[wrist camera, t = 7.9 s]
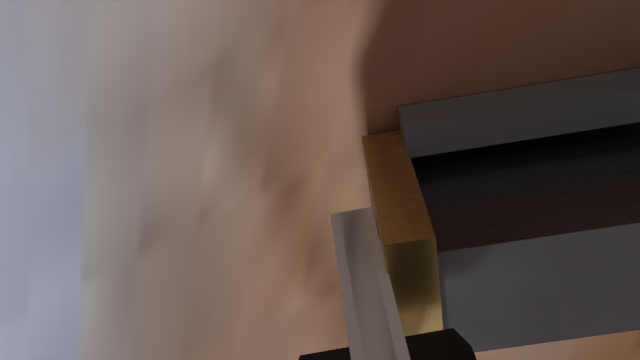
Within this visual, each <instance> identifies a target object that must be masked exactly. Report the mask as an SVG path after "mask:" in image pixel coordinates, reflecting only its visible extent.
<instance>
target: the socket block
mask: <svg viewBox="0 0 640 360" xmlns="http://www.w3.org/2000/svg"><path fill="white" fill-rule="evenodd" d="M398 112H399V122H400V130H402V133H403V136H404V139H405V142H406V146H407V149H408V152H409V155H410V158H414V157H420V156H427V155H433V154H439V153H446V152H452V151H458V150H465V149H471V148H478V147H484V146H490V145H497V144H503V143H509V142H516V141H522V140H529V139H535V138H541V137H548V136H554V135H560V134H567V133H573V132H579V131H586V130H592V129H599V128H605V127H611V126H618V125H624V124H630V123H637V122H640V68H634V69H628V70H622V71H615V72H609V73H603V74H597V75H591V76H585V77H578V78H572V79H566V80H560V81H554V82H548V83H541V84H535V85H529V86H523V87H517V88H511V89H504V90H498V91H492V92H486V93H480V94H474V95H467V96H461V97H455V98H449V99H443V100H436V101H430V102H424V103H418V104H412V105H406V106H399V107H398Z"/></svg>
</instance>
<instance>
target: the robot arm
mask: <svg viewBox="0 0 640 360" xmlns="http://www.w3.org/2000/svg"><path fill="white" fill-rule="evenodd" d="M330 216H331V223H332V230H333V237H334V244H335V251H336V258H337V265H338V272H339V279H340V286H341V293H342V300H343V307H344V314H345V321H346V328H347V335H348V342H349V347H347V348H341V349H335V350H329V351H323V352H318V353H312V354H306V355H300V357H299V359H298V360H477V359H476V357H475V354H474V351H473V349H472V346H471V345H470V344H469V343H468V342H467V341H466V340H465V339H464V338H463V337H462V336H461V335H460V334H459V333H458V332H457V331H456V330H455V329H454V328H450V329H444V330H439V331H433V332H427V333H422V334H416V335H410V336H404V332H403V328H402V324H401V320H400V316H399V313H398V309H397V305H396V301H395V297H394V293H393V289H392V285H391V281H390V278H389V274H387V273H386V268H385V263H384V257H383V252H382V247H381V243H380V239H379V235H378V231H377V227H376V223H375V219H374V215H373V211H372V207H370V208H364V209H363V208H362V209H357V210H351V211H345V212H340V213H334V214H330Z"/></svg>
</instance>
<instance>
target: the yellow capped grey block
mask: <svg viewBox="0 0 640 360" xmlns="http://www.w3.org/2000/svg"><path fill="white" fill-rule="evenodd" d="M362 143H363V150H364V157H365V164H366V170H367V177H368V184H369V191H370V198H371V205H372V211H373V215H374V219H375V223H376V227H377V231H378V235H379V239H380V243H381V247H382V252H383V257H384V263H385V268H386V273H387V274H389V278H390V281H391V285H392V289H393V293H394V297H395V301H396V305H397V309H398V313H399V316H400V320H401V324H402V328H403V332H404V336H410V335H416V334H422V333H427V332H433V331H439V330H444V329H450V328H454V329H455V330H456V331H457V332H458V333H459V334H460V335H461V336H462V337H463V338H464V339H465V340H466V341H467V342H468V343H469V344H470V345H471V346H472V349H473V351H474V352H481V351H488V350H495V349H503V348H510V347H517V346H524V345H532V344H539V343H546V342H553V341H561V340H568V339H575V338H582V337H590V336H597V335H604V334H611V333H619V332H626V331H633V330H640V122H637V123H630V124H624V125H618V126H611V127H605V128H599V129H592V130H586V131H579V132H573V133H567V134H560V135H554V136H548V137H541V138H535V139H529V140H522V141H516V142H509V143H503V144H497V145H490V146H484V147H478V148H471V149H465V150H458V151H452V152H446V153H439V154H433V155H427V156H420V157H414V158H410V155H409V152H408V149H407V146H406V142H405V139H404V136H403V133H402V130H399V131H392V132H386V133H380V134H374V135H367V136H362Z"/></svg>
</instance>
